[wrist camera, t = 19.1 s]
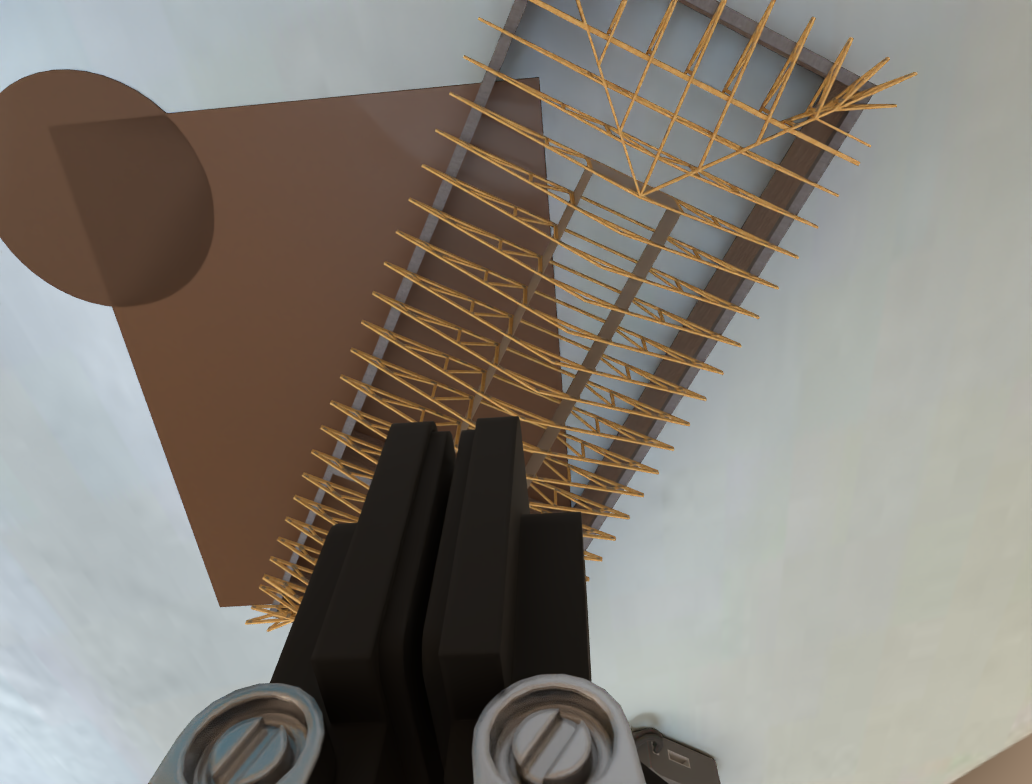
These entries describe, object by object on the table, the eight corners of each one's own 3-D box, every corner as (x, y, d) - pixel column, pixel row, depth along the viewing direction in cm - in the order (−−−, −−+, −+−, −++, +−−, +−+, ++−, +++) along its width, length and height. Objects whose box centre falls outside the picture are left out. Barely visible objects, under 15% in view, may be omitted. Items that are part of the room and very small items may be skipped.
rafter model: (507, 659, 45) (503, 752, 40) (266, 576, 43) (227, 664, 37) (878, 62, 30) (954, 83, 25) (536, -121, 27) (536, -144, 22)
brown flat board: (534, 20, 30) (534, 20, 30) (577, 585, 43) (577, 587, 43) (-66, 81, 31) (-69, 82, 31) (152, 608, 44) (151, 611, 44)
